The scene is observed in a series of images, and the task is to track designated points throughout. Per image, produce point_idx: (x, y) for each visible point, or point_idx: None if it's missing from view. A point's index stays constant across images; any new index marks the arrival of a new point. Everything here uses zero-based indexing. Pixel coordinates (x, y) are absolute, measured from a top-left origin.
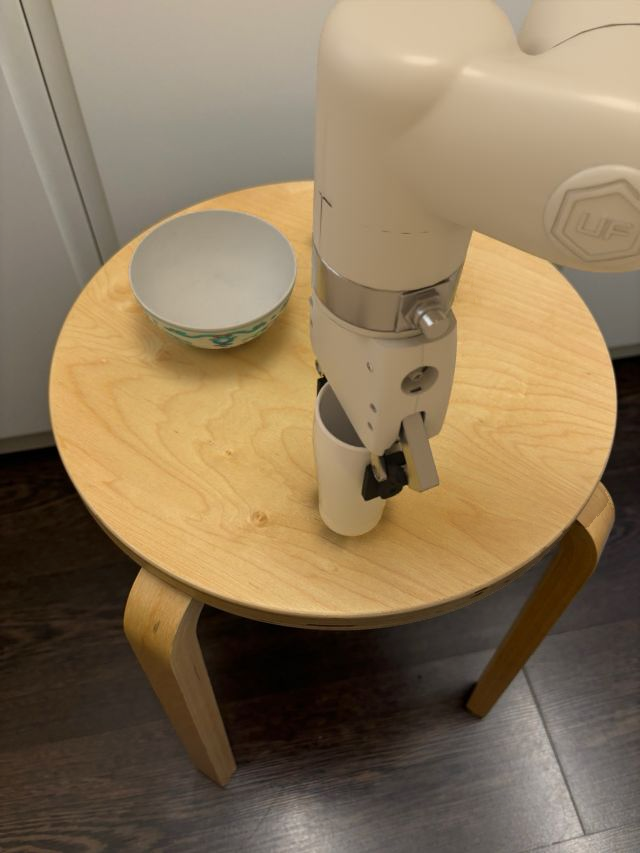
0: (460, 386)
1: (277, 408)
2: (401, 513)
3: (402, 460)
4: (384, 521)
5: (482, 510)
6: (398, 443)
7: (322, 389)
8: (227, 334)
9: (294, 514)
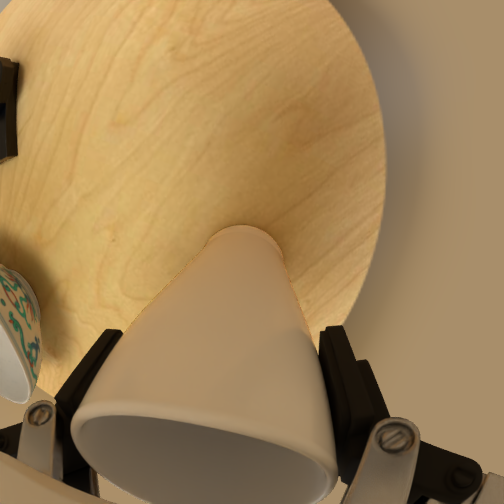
0: (117, 61)
1: (97, 288)
2: (269, 202)
3: (409, 498)
4: (272, 227)
5: (301, 99)
6: (337, 466)
7: (136, 497)
8: (28, 357)
9: None
